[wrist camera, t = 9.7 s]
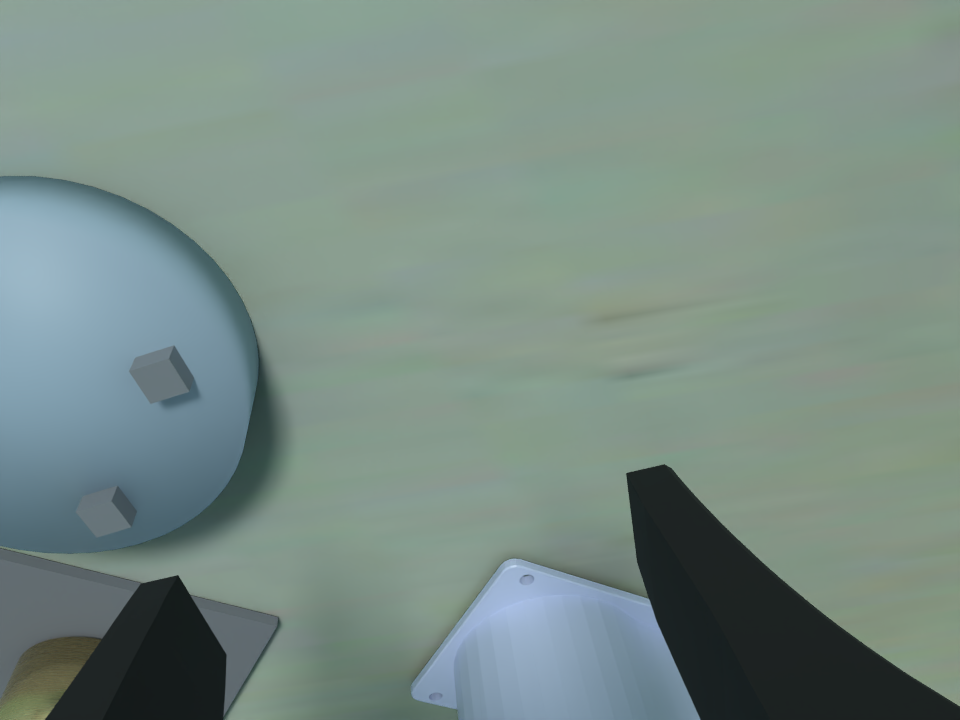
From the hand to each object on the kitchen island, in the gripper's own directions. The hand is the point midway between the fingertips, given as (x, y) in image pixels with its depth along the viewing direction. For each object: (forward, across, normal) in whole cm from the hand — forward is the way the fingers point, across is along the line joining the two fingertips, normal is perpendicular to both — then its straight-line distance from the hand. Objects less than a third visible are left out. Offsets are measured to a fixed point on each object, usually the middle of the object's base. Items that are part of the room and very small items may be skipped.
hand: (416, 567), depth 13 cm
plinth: (+10, +9, 0) cm, 14 cm away
